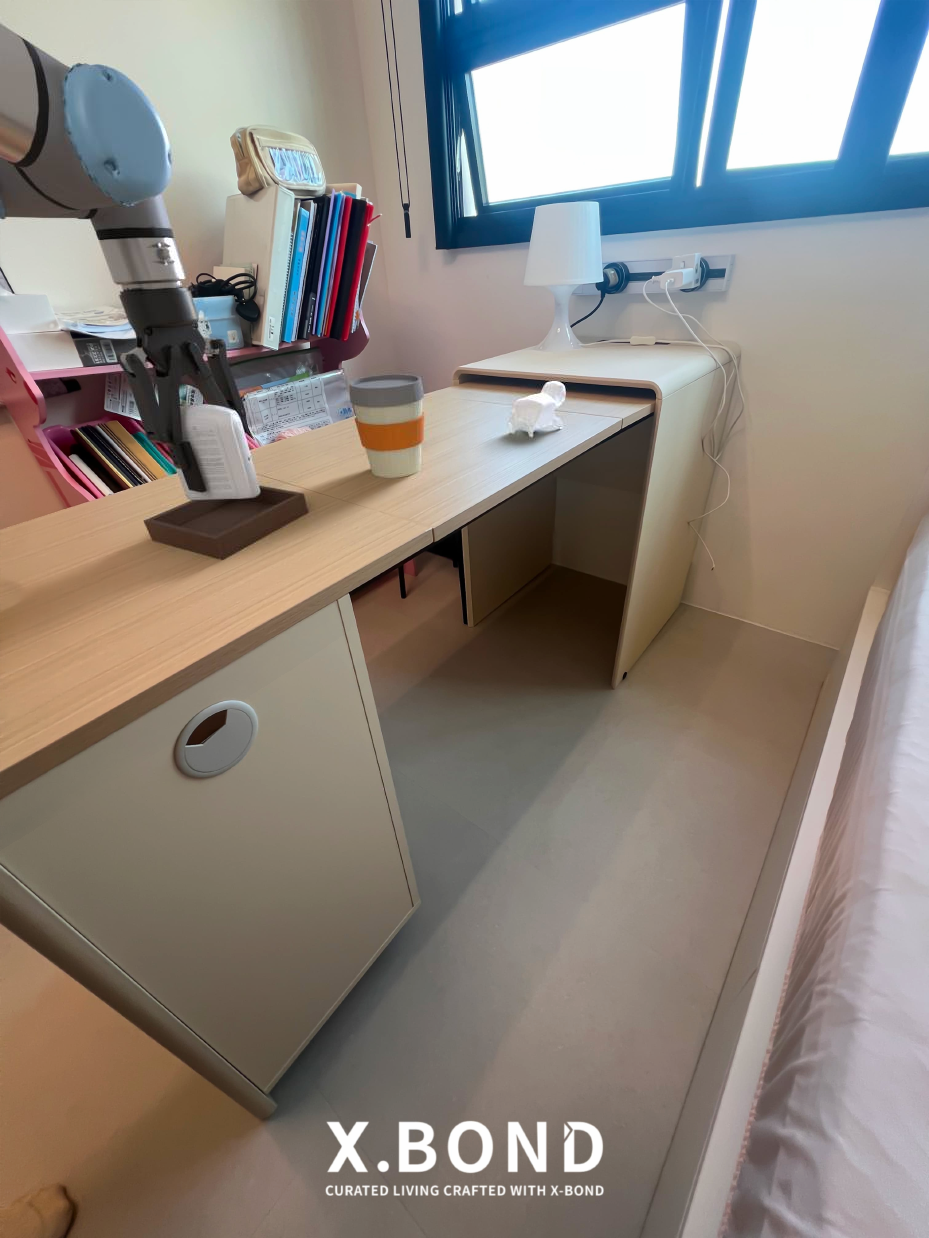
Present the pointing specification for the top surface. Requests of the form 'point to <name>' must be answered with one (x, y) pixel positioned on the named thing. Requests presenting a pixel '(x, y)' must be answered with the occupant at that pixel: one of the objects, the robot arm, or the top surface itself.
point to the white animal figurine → (538, 409)
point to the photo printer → (218, 453)
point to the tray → (226, 521)
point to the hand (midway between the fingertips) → (218, 481)
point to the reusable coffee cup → (390, 422)
